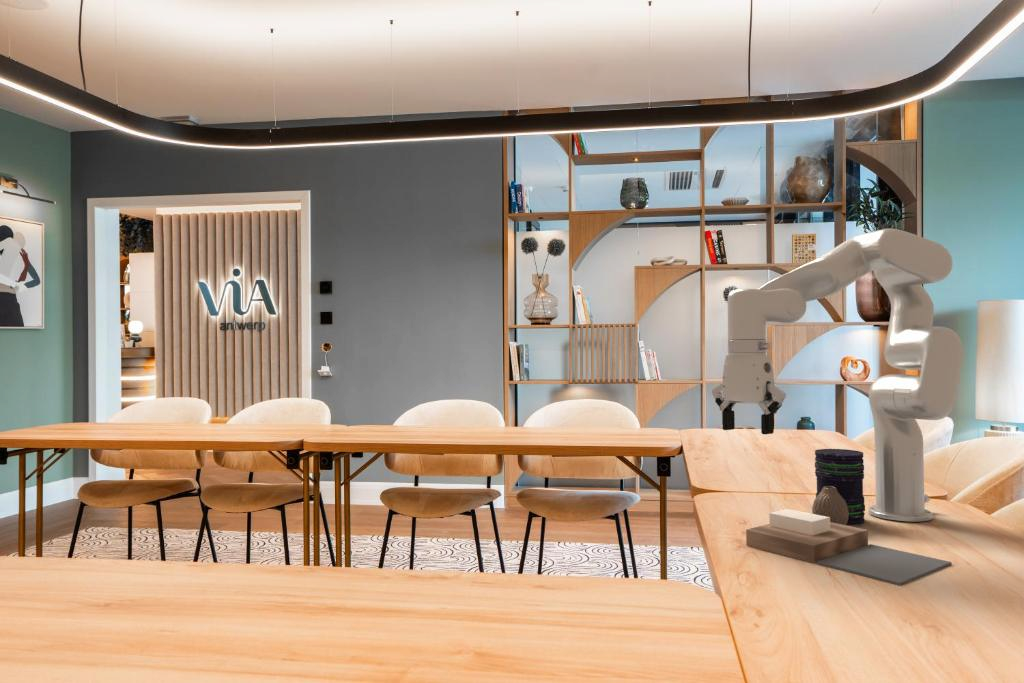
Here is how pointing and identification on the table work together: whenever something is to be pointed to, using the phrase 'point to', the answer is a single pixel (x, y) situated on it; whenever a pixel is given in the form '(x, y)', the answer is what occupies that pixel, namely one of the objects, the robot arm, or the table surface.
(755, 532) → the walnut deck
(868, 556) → the charcoal mat
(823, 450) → the storage jar
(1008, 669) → the table surface
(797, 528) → the ivory tile
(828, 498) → the vase
